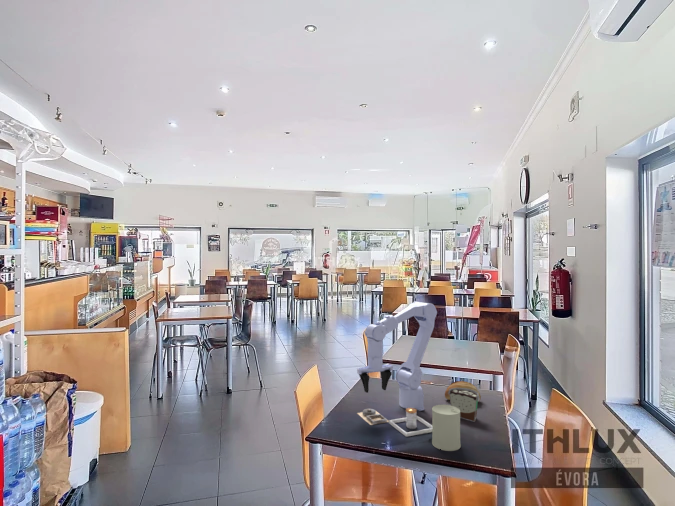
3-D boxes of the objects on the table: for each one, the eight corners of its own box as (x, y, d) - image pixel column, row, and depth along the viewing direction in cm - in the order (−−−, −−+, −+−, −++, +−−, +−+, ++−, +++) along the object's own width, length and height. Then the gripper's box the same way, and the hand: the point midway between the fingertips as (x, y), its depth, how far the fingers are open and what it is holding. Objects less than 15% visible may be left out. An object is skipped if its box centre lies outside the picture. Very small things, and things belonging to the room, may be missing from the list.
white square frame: (417, 422, 152) (417, 415, 152) (436, 435, 141) (436, 428, 141) (388, 427, 147) (388, 420, 147) (406, 441, 136) (406, 433, 136)
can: (456, 453, 127) (456, 415, 128) (427, 446, 132) (427, 409, 132) (464, 442, 135) (463, 406, 135) (437, 436, 140) (436, 401, 140)
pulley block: (375, 414, 160) (375, 405, 160) (390, 425, 149) (390, 416, 149) (356, 417, 157) (356, 408, 157) (370, 429, 146) (370, 419, 146)
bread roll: (443, 396, 181) (443, 378, 181) (478, 398, 178) (478, 379, 179) (445, 403, 172) (445, 384, 172) (482, 405, 169) (482, 386, 169)
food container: (485, 418, 156) (485, 392, 156) (478, 423, 151) (478, 396, 151) (455, 410, 164) (455, 385, 164) (448, 414, 159) (448, 388, 160)
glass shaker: (407, 426, 147) (407, 407, 147) (418, 428, 145) (418, 408, 145) (404, 430, 143) (404, 410, 144) (414, 432, 142) (414, 412, 142)
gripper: (386, 351, 164) (386, 385, 164) (353, 355, 159) (354, 389, 159) (395, 355, 158) (395, 390, 158) (361, 359, 152) (361, 395, 152)
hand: (375, 390), depth 158 cm, fingers open, 7 cm apart
